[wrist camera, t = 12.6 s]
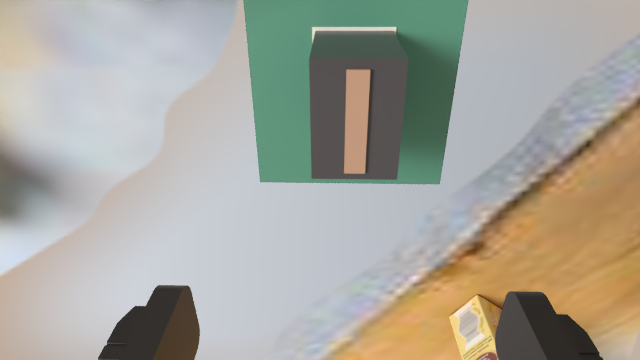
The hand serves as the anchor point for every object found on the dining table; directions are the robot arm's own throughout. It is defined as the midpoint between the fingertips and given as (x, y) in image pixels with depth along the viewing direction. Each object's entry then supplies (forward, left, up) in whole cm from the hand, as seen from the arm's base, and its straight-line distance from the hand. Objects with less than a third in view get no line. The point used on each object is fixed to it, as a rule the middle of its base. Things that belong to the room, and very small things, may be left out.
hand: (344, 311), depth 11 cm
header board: (+1, +1, -22) cm, 22 cm away
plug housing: (+1, +1, -21) cm, 21 cm away
